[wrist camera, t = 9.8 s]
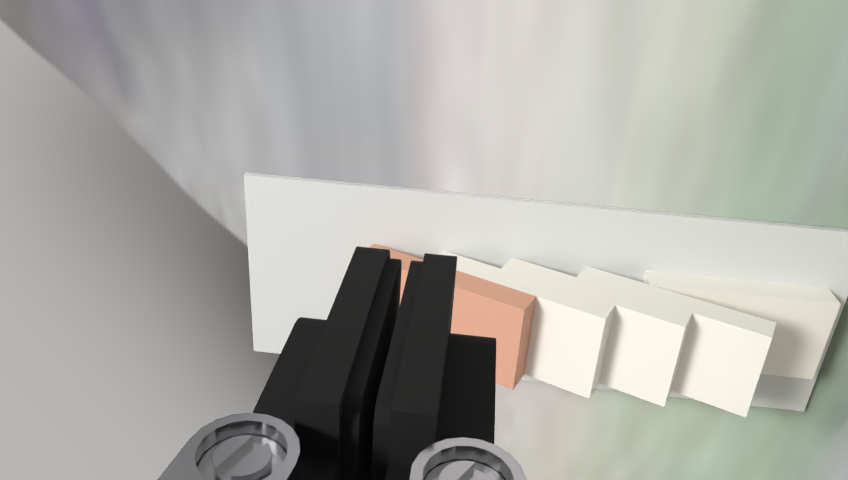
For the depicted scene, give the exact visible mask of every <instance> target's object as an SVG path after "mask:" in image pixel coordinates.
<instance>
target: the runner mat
mask: <svg viewBox="0 0 848 480" xmlns="http://www.w3.org/2000/svg"><path fill="white" fill-rule="evenodd" d="M244 186H245V204H246V221H247V239H248V254H249V255H248V256H249V273H250V290H251V308H252V326H253V343H254V351H261V352H270V353H279V354H281V352H282V349H283V347H284V345H285V343H286V341H287V339H288V337H289V335H290V333H291V330H292V328H293V326H294V324H295V322H296V321H297V319H298V318H300V317H304V318H314V319H323V320H327V318H328V315H329V313H330V310H331V308H332V305H333V303H334V300H335V298H336V295H337V293H338V290H339V288H340V285H341V283H342V280H343V278H344V276H345V273H346V271H347V268H348V266H349V263H350V261H351V258H352V256H353V253H354V251H355V249H356V247H357V246H359V247H370V246H371V245H373V244H377V245H380V246H383V247H386V248H389V249H392V250H396V251H399V252H402V253H405V254H408V255H411V256H414V257H417V258H420V259H424V254H425V253H428V254H438V255H440V254H441V253H442V252H443V251H447V252H450V253H453V254H457V255H460V256H463V257H466V258H469V259H472V260H475V261H479V262H482V263H485V264H488V265H491V266H494V267H497V268H502V267H503V266H504V265H505V264H506V263H507V262H508V261H509V260H510V259H512V258H516V259H519V260H523V261H526V262H529V263H532V264H536V265H539V266H542V267H545V268H549V269H552V270H555V271H558V272H562V273H565V274H568V275H571V276H574V277H578V275H579V274H580V273H581V272H582V271H583V269H584V268H585V267H586V266H589V267H593V268H596V269H599V270H603V271H606V272H609V273H613V274H616V275H619V276H623V277H626V278H629V279H633V280H636V281H639V282H643V281H644V277H645V272H646V271H654V272H664V273H674V274H684V275H694V276H704V277H714V278H724V279H734V280H744V281H754V282H764V283H774V284H784V285H794V286H804V287H814V288H824V289H829V290H830V291H831V292H832V293H833V295H834V296H835V297H836V299H837V300H838V301H839V302H840V304H841V305H840V308H839V311H838V313H837V316H836V319H835V321H834V324H833V327H832V329H831V332H830V335H829V337H828V340H827V342H826V345H825V348H824V350H823V353H822V356H821V358H820V361H819V364H818V366H817V369H816V372H815V374H814V377H813V379H804V378H795V377H785V376H776V375H767V374H760V376H759V379H758V382H757V385H756V388H755V391H754V394H753V397H752V400H751V403H750V406H758V407H767V408H776V409H785V410H795V411H804V410H805V408H806V405H807V402H808V400H809V397H810V394H811V392H812V389H813V386H814V384H815V381H816V378H817V376H818V373H819V371H820V368H821V365H822V363H823V360H824V357H825V355H826V352H827V349H828V347H829V344H830V342H831V339H832V336H833V334H834V331H835V328H836V326H837V323H838V320H839V318H840V315H841V312H842V310H843V307H844V305H845V302H846V299H847V297H848V229H840V228H829V227H819V226H808V225H798V224H787V223H776V222H766V221H755V220H745V219H734V218H724V217H713V216H702V215H692V214H681V213H671V212H660V211H650V210H639V209H629V208H618V207H607V206H597V205H586V204H576V203H565V202H555V201H544V200H533V199H523V198H512V197H502V196H491V195H481V194H470V193H459V192H449V191H438V190H428V189H417V188H407V187H396V186H385V185H375V184H364V183H354V182H343V181H333V180H322V179H311V178H301V177H290V176H280V175H269V174H259V173H248V172H246V173H245V174H244ZM520 380H523V381H532V382H541V383H547V382H544V381H541V380H539V379H536V378H533V377H531V376H528V375H526V374H524V375H523V377H522V378H521V379H520ZM596 389H604V390H614V391H619V390H617V389H614V388H611V387H609V386H606V385H603V384H600V383H598V385H597V387H596ZM669 397H677V398H686V399H693V398H690V397H687V396H684V395H682V394H679V393H676V392H673V391H671V393H670V395H669ZM695 400H696V399H695Z"/></svg>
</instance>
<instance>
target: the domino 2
mask: <svg viewBox="0 0 848 480" xmlns="http://www.w3.org/2000/svg"><path fill="white" fill-rule="evenodd" d="M440 255H448V256H457V267H456V270H457V271H460V272H463V273H466V274H469V275H472V276H475V277H479V278H482V279H485V280H488V281H491V282H494V283H497V284H500V285H503V286H506V287H509V288H512V289H515V290H518V291H522V292H525V293H528V294H531V295H534V296H536V302H535V308H534V315H533V321H532V328H531V335H530V341H529V348H528V354H527V361H526V368H525V374H526V375H528V376H531V377H533V378H536V379H539V380H541V381H544V382H547V383H549V384H552V385H554V386H557V387H560V388H562V389H565V390H568V391H570V392H573V393H576V394H578V395H581V396H583V397H586V398H589V399H590V397H591V395H592V394H593V392H594V390H595V389H596V387H597V385H598V383H599V380H600V375H601V370H602V365H603V361H604V356H605V351H606V346H607V342H608V337H609V332H610V327H611V323H612V318H613V313H614V308H615V305H614V304H610V303H607V302H604V301H601V300H598V299H595V298H592V297H588V296H585V295H582V294H579V293H576V292H573V291H570V290H566V289H563V288H560V287H557V286H554V285H551V284H548V283H544V282H541V281H538V280H535V279H532V278H529V277H526V276H522V275H519V274H516V273H513V272H510V271H507V270H504V269H501V268H497V267H494V266H491V265H488V264H485V263H482V262H479V261H475V260H472V259H469V258H466V257H463V256H460V255H457V254H453V253H450V252H447V251H443V252H442V253H441V254H440Z"/></svg>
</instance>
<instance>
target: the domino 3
mask: <svg viewBox="0 0 848 480" xmlns="http://www.w3.org/2000/svg"><path fill="white" fill-rule="evenodd" d="M501 269H504V270H507V271H510V272H513V273H516V274H519V275H522V276H526V277H529V278H532V279H535V280H538V281H541V282H544V283H548V284H551V285H554V286H557V287H560V288H563V289H566V290H570V291H573V292H576V293H579V294H582V295H585V296H588V297H592V298H595V299H598V300H601V301H604V302H607V303H610V304H614V305H615V308H614V313H613V318H612V323H611V327H610V332H609V337H608V342H607V346H606V351H605V356H604V361H603V365H602V370H601V375H600V380H599V383H600V384H603V385H606V386H609V387H611V388H614V389H617V390H619V391H622V392H625V393H628V394H630V395H633V396H636V397H638V398H641V399H644V400H647V401H649V402H652V403H655V404H657V405H660V406H663V407H665V404H666V402H667V400H668V397H669V395H670V393H671V390H672V387H673V383H674V379H675V375H676V372H677V368H678V364H679V361H680V357H681V353H682V349H683V346H684V342H685V338H686V334H687V331H688V327H689V323H690V320H691V316H692V313H691V312H688V311H685V310H681V309H678V308H675V307H672V306H668V305H665V304H662V303H659V302H655V301H652V300H649V299H646V298H642V297H639V296H636V295H633V294H630V293H626V292H623V291H620V290H617V289H613V288H610V287H607V286H604V285H600V284H597V283H594V282H591V281H587V280H584V279H581V278H578V277H574V276H571V275H568V274H565V273H562V272H558V271H555V270H552V269H549V268H545V267H542V266H539V265H536V264H532V263H529V262H526V261H523V260H519V259H516V258H512V259H510V260H509V261H508V262H507V263H506V264H505V265H504V266H503V267H502V268H501Z"/></svg>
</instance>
